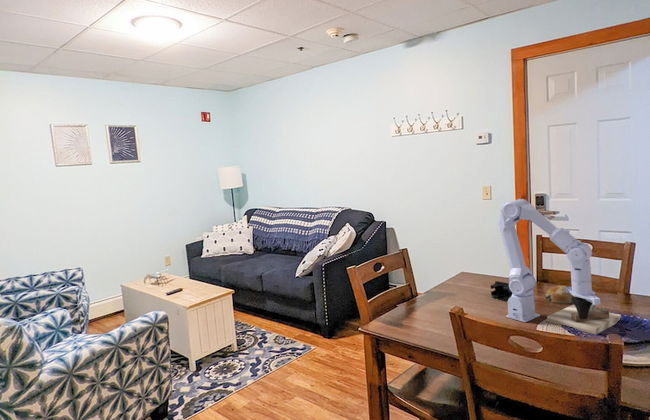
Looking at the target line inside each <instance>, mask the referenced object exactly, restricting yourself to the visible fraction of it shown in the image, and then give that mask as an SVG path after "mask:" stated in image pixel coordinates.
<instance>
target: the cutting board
mask: <svg viewBox="0 0 650 420" xmlns="http://www.w3.org/2000/svg"><path fill="white" fill-rule="evenodd" d="M596 306H597V305H593V304H592V305H591V307H590V309H589V311H596V310H597V309H596V308H597V307H596ZM571 313H578V312H577V309H576V307H575V305H574V304H572V305H569V306H567V307H565V308H562V309H560V310H558V311H556V312H554V313H552V314H549V315H547V316H546V320H547V323H551V324H554V325H557V326H561V325H566V326H569V327H573V328H575V329H574V330H576V329H578V330H577V331H582V332H584V333H588V334H593V335H595V336H596V335H598V334H600V333H601V332H604V331H605V330H607V329H609V328H611V327H612V326H614V325H616V324H618V323H619V322H618V321H619V320H620V318H621V319H622V315H621V314H618V313H612V312H609V318H602V319H593V320H584V321H574V320H573V319H571ZM617 322H618V323H617ZM569 327H568V328H569ZM573 328H572V329H573Z"/></svg>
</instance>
